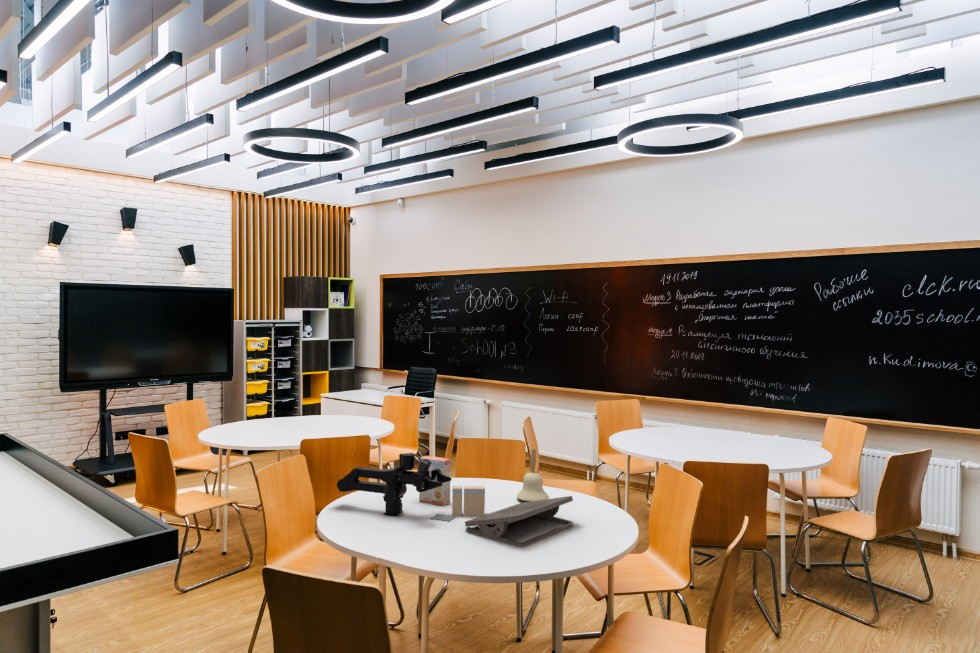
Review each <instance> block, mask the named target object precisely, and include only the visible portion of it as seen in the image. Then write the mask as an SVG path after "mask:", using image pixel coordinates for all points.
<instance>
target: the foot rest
mask: <svg viewBox="0 0 980 653" xmlns="http://www.w3.org/2000/svg"><path fill="white" fill-rule="evenodd" d="M573 501H574V499H573V496H572V495H568V496H561V497H555V498H548V499H546V500H538V501H525V502H521V503H517V504H514V505H510V506H508V507H505V508H501V509H499V510H496V511H493V512H490V513H487V514H484V515H483V516H476V517H475V518H472V519H469V520H466V521H464V526H465V532H468V533H471V534H474V535H477V536H481V537H484V538H488V539H491V540H494V541H497V542H500V543H504V544H506V545H507V544H508V545H510V546H512V547H513V546H514V547H517V548H526V547H528V546H531V545H534V544H535V543H537V542H541V541H543V540H545V539H547V538H549V537H552V536H554V535H557V534H559V533H561V532H564V531H566V530H568V529H569V530H570V529H571V528H574V525H573V523H574V522H573V521H572V520H569V519H565V518H562V517H558V516H556V515H557V513H558V512H559V510H560V506H562V505H565V504H567V503H571V502H573ZM532 516H534V517H538V518H541V519H544V520H547V521H548V520H549V521H552V522H557V523H560V524H564V525H561V526H559V527H556V528H553V529H551V530H549V531H546V532H543V533H542V534H539V535H536V536H535V537H532V538H530V539H527V540H525V541H517V540H513V539H510V538H507V537H505V536H504V535H505V533H506V531H507V529H508V525H509V524H512V523H515V522H518V521H520V520H525V519H527V518H530V517H532ZM493 525H494V526H493ZM477 526H478V529H477V528H474V527H477Z"/></svg>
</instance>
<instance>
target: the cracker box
mask: <svg viewBox="0 0 980 653" xmlns="http://www.w3.org/2000/svg"><path fill="white" fill-rule="evenodd" d="M423 459H429V460H430V461H431V464H430V467H429V470H428V471H430V474H429V475H430V477H431V471H432V470H434V469H436V468H439V469H440V470H441V473H442V474H443V475H445V476H448V477H450V478H451V464H452V463H451V460H452V459H451V458H446V457H441V456H440V457H438V456H433V455H423V456H420V458H419V463H420V462H421V460H423ZM422 489H424V488H422ZM418 499H419V502H421V501H422V503H426V502H427V503H426V504H431V503H432V505H436V504H437V506H441V505H442V506H443V507H444V506H446V505H449V504H451V481H448V482H445V483H442V486H440V487H437V488H434V489H430V490H427V491H423V492H419V498H418Z"/></svg>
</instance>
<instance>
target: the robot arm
mask: <svg viewBox="0 0 980 653" xmlns="http://www.w3.org/2000/svg"><path fill="white" fill-rule="evenodd" d="M398 458H399V466H397V467H393V468H392V467H391V468H385V469H378V468H373V467H364V466H363V467H362V466H356V467H354V468H352V469H351V471H350V472H348V474H346V475H345V476H343V477H342V478H340V479H339V480H337V482H336V488H337V489H338V491H339V492H341V493H345V492H352V491H353V492H354V491H360V492H367V493H376V494H383V496H382V499H383V501H384V502H385V508H384V510H385V512H383V515H384V516H390V517H391V516H393V517H397V516H399V515H401V514H403V513H404V511H403V502H402V500H403V499H402V498H404V495H405V494H406V493H407V491H408V489H407V485H410V486H413V487H415V491H417V493H420V492H423V491H427V490H430V489H434V488H437V487H440V486H442V483H445V482H448V481H450V482H451V481H452V477H451V476H450V477H448V476H445V475H443V474H442V473H441V470H440V469H439V468H436V469H434V470H432V471H431V477H430V475H429V474H430V471H428V470H429V467H430V464H431V461H430V460H429V459H423V460H421V462H420V461H419V465H418V467H417V471H414V470H413V469H414V468H415V466H416V463H415V462H416V454H415V453H414V452H407V453H406V452H405V453H399V456H398ZM360 478H363V479H365V478H366V479H372V480H373V479H375V480H380V481H382V482H375V481H367V480H361V479H360ZM422 488H424V489H422Z"/></svg>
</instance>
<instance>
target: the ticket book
mask: <svg viewBox="0 0 980 653" xmlns="http://www.w3.org/2000/svg"><path fill="white" fill-rule="evenodd" d="M485 501H486V487H485V485H464V487H463V517H480V516H483V515H485V508H486V507H485V506H486V503H485Z"/></svg>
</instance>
